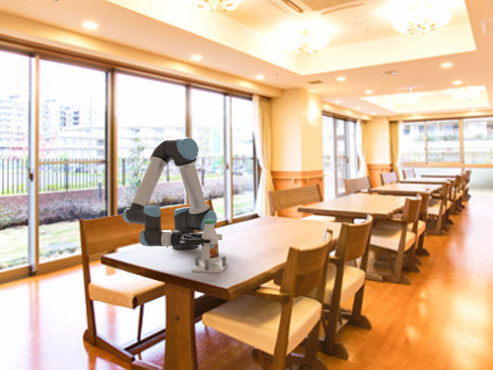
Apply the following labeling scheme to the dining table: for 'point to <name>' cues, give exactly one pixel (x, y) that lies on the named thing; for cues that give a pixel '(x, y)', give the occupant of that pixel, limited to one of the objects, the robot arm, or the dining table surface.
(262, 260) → the dining table surface
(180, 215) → the robot arm
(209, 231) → the milk bottle
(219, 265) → the white peg board
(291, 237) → the dining table surface
